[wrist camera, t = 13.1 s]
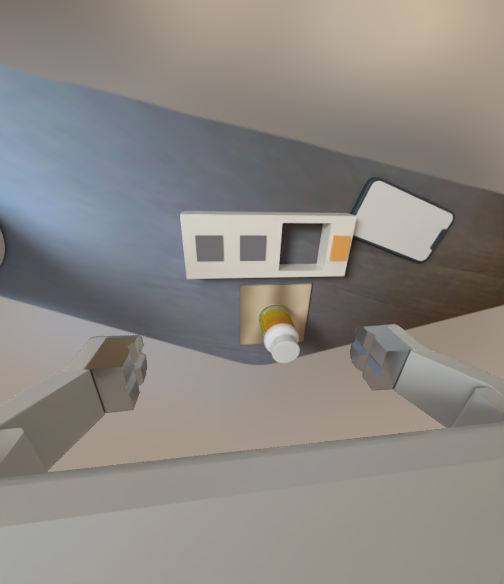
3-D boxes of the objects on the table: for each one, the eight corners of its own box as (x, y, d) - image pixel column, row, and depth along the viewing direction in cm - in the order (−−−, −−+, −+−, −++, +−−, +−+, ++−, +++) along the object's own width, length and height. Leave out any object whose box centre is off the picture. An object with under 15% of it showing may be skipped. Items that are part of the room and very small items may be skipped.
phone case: (338, 232, 37) (417, 262, 41) (343, 234, 36) (424, 265, 39) (368, 173, 34) (451, 212, 38) (374, 173, 33) (460, 213, 36)
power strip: (189, 271, 37) (186, 280, 34) (183, 211, 33) (179, 214, 30) (336, 269, 39) (345, 277, 36) (347, 213, 35) (358, 216, 32)
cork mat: (240, 343, 44) (240, 344, 44) (240, 284, 39) (240, 285, 38) (302, 340, 45) (303, 341, 45) (310, 283, 40) (311, 284, 40)
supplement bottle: (254, 308, 41) (262, 344, 32) (283, 298, 40) (299, 331, 32) (263, 332, 43) (273, 371, 34) (291, 322, 43) (308, 360, 34)
